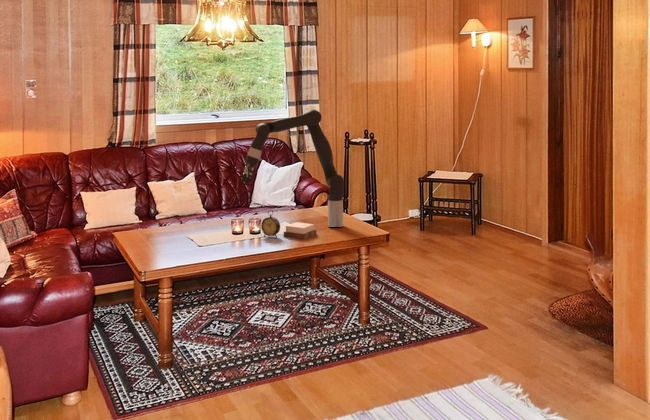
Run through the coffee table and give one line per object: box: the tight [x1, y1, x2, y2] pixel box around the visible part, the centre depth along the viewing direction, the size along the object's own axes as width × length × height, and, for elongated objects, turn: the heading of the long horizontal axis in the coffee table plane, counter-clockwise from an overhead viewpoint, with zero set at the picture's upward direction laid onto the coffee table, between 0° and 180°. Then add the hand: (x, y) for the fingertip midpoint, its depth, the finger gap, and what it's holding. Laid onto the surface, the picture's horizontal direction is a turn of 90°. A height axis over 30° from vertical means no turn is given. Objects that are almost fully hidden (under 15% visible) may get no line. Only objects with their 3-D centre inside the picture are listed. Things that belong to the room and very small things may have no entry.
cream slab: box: [285, 221, 315, 234], centre depth 421 cm, size 12×12×4 cm
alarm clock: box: [260, 209, 281, 238], centre depth 417 cm, size 11×5×16 cm, turn 62°
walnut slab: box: [283, 229, 317, 240], centre depth 421 cm, size 14×14×4 cm
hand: (244, 182), depth 419 cm, fingers open, 8 cm apart
